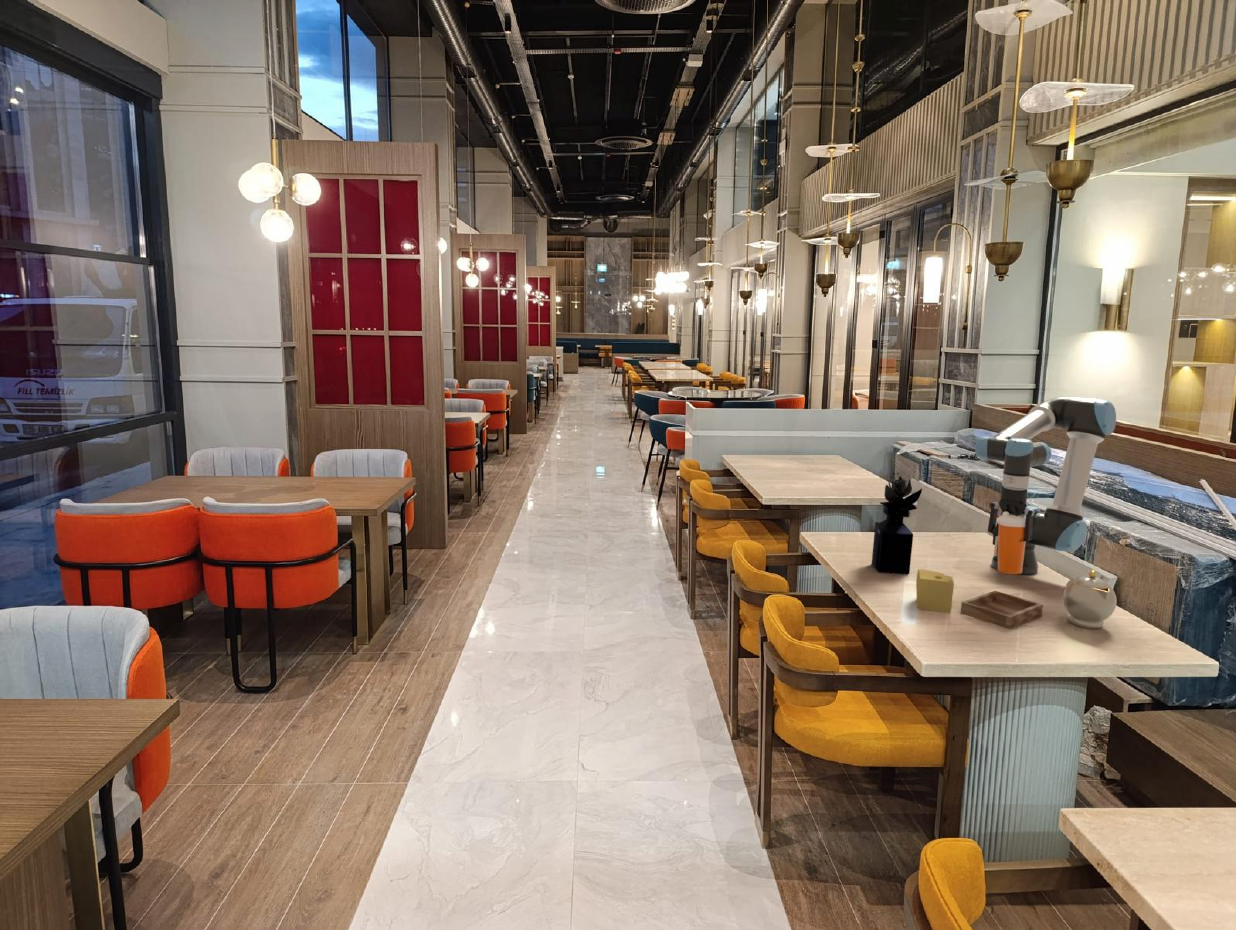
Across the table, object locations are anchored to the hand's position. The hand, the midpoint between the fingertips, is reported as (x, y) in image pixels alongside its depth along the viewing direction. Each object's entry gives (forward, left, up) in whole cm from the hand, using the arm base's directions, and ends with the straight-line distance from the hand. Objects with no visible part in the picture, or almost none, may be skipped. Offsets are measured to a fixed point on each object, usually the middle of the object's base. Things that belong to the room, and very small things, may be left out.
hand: (1006, 557), depth 257 cm
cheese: (+30, -7, -13) cm, 33 cm away
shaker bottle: (0, +1, -4) cm, 5 cm away
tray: (+19, +9, -13) cm, 24 cm away
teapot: (+4, +26, -13) cm, 29 cm away
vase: (+7, -37, -13) cm, 40 cm away
